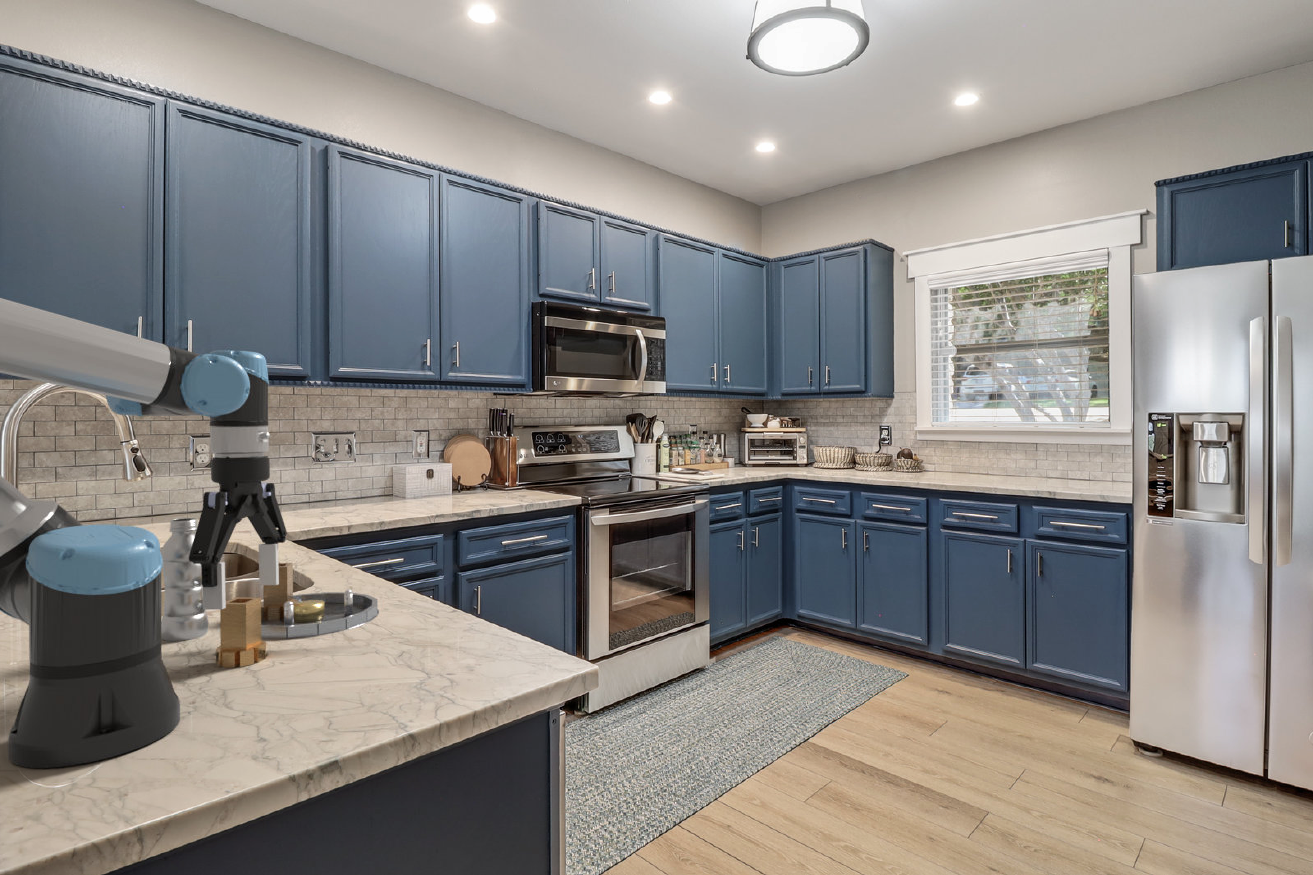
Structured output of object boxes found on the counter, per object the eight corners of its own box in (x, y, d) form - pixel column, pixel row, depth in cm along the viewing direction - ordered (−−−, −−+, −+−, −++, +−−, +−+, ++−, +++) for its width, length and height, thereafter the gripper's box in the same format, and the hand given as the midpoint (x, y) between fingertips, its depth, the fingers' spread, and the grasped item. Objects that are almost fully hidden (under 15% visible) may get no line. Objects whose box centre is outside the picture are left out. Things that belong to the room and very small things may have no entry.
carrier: (344, 646, 110) (343, 610, 109) (200, 645, 110) (200, 608, 109) (398, 607, 133) (398, 577, 132) (279, 606, 133) (279, 576, 132)
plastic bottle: (169, 652, 106) (168, 523, 106) (154, 643, 111) (152, 519, 110) (215, 641, 112) (214, 519, 111) (199, 633, 116) (198, 515, 115)
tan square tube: (293, 618, 121) (292, 568, 120) (253, 621, 119) (253, 569, 119) (301, 609, 126) (301, 561, 126) (264, 611, 125) (264, 562, 125)
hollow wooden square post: (249, 667, 100) (249, 606, 100) (207, 667, 100) (206, 606, 100) (273, 653, 106) (273, 595, 106) (233, 653, 106) (233, 595, 106)
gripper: (211, 460, 90) (215, 620, 91) (308, 450, 115) (310, 576, 116) (154, 460, 90) (158, 620, 91) (263, 450, 115) (266, 576, 116)
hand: (243, 596), depth 103 cm, fingers open, 13 cm apart
